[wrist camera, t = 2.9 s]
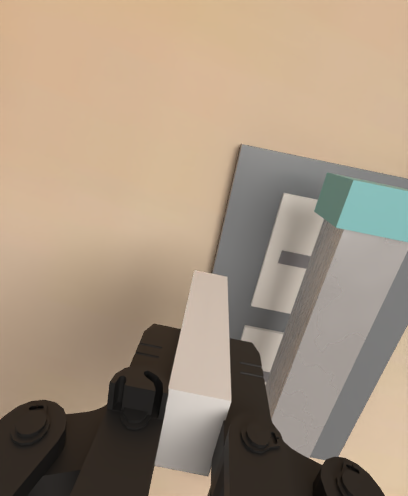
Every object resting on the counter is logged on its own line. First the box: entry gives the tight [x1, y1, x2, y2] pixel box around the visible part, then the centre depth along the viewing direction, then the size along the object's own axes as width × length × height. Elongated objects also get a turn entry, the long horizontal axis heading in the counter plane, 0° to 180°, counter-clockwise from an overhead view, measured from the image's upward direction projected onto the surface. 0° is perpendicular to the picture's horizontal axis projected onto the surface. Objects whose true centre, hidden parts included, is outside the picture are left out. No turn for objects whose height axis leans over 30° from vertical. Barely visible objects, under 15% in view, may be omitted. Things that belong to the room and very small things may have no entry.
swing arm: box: [265, 172, 408, 458], centre depth 18 cm, size 26×4×3 cm, turn 169°
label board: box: [212, 144, 408, 460], centre depth 22 cm, size 16×27×6 cm, turn 169°
